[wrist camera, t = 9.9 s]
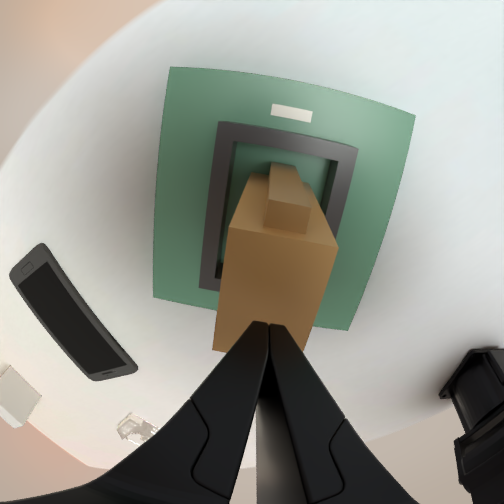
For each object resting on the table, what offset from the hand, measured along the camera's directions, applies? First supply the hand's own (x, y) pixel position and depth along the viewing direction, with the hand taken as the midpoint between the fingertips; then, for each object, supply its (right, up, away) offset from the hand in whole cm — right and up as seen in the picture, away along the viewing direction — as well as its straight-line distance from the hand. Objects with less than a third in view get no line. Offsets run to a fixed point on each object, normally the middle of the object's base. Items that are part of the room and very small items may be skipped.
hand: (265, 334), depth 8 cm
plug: (+1, +4, +8) cm, 9 cm away
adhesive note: (-33, -16, +22) cm, 43 cm away
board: (+1, +5, +9) cm, 11 cm away
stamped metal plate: (-13, -20, +23) cm, 33 cm away
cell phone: (-16, -4, +15) cm, 23 cm away
